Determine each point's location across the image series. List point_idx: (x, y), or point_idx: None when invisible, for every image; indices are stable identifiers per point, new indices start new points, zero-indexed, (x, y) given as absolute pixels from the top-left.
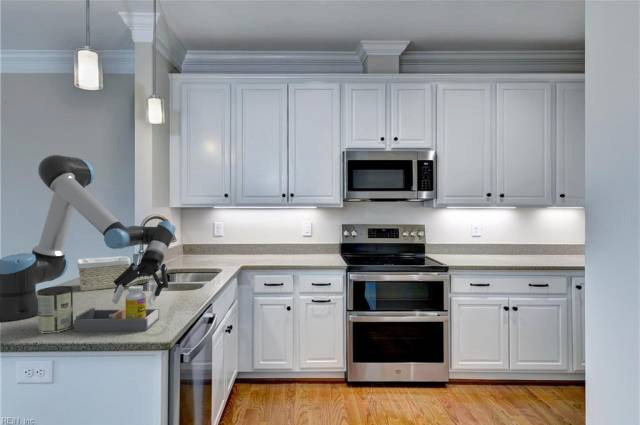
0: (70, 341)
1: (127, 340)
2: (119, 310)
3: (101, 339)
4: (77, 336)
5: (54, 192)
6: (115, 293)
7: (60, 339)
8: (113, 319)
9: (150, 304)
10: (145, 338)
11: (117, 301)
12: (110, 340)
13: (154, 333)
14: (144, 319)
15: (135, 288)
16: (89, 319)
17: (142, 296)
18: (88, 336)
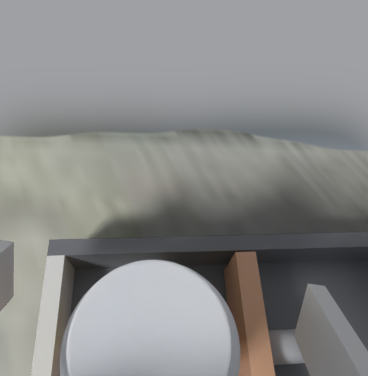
0: (310, 150)
1: (109, 150)
2: (271, 360)
3: (213, 163)
4: (327, 196)
5: None
6: (347, 327)
7: (362, 169)
8: (232, 239)
9: (12, 285)
10: (44, 167)
11: (300, 338)
12: (173, 153)
13: (18, 222)
14: (61, 240)
15: (126, 264)
16: (356, 241)
17: (74, 309)
18: (284, 195)
